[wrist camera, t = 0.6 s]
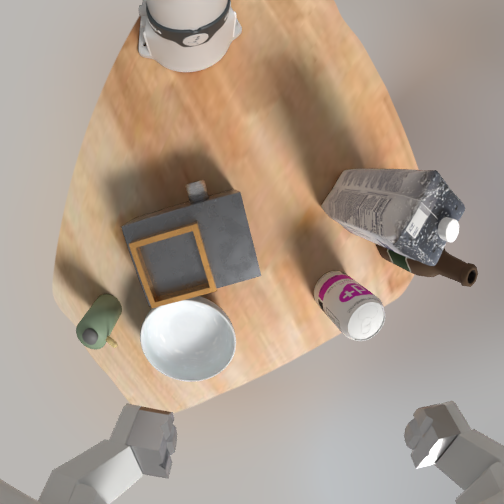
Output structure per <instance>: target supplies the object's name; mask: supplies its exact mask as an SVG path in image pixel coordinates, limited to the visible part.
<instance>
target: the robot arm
mask: <svg viewBox="0 0 504 504" xmlns="http://www.w3.org/2000/svg"><path fill="white" fill-rule="evenodd" d="M139 15H140V16H141V22H140V35H139V54H140V55H141V56H142V57H146V58H150V59H154V60H156V61H157V62H159V63H160V64H161V65H163V66H164V67H166V68H168V69H170V70H174V71H178V72H195V71H199V70H203V69H206V68H208V67H210V66H212V65H213V64H215V63H216V62H218V61H219V60H220V59H221V58H222V57H223V56H224V55H225V53H226V52H227V50H228V48H229V46H230V44H231V42H232V41H233V40H234V39H235V38H237V37H238V36H239V35H240V34H241V32H242V27H241V25H240V23H239V22H238V20H237V18H236V12H234V11H233V9H232V8H231V1H230V0H143V3H142V5H140V6H139ZM144 44H146V46H144ZM413 416H414V419H413V420H412V421H410V422H409V423H408V425H407V426H406V428H405V434H404V437H405V442H406V445H407V446H408V447H409V448H410V449H412V453H411V457H412V460H413V462H414V465H415V467H416V469H417V468H421V467H425V466H428V465H432V464H435V466H436V467H437V468H439V469H440V470H441V471H442V472H443V473H444V474H446V475H447V476H448V477H449V478H450V479H452V480H453V481H454V482H455V483H456V484H457V485H459V486H460V487H461V488H462V489H463V490H465V491H464V492H463V493H462V494H460V495H459V496H458V497H457V498H456V500H455V501H456V504H504V446H503V445H501V444H499V443H498V442H496V441H494V440H492V439H491V438H488V437H487V436H485V435H484V434H482V433H480V432H478V431H477V430H475V429H473V430H471V428H470V426H469V425H468V423H467V421H466V420H465V418H464V416H463V415H462V413H461V412H460V410H459V408H458V407H457V405H456V403H454V402H453V401H450V402H445V403H441V404H435V405H430V406H426V407H421V408H418V409H417V410H416V411H415V413H414V415H413ZM173 421H174V416H173V412H167V411H162V410H157V409H152V408H147V407H142V406H137V405H132V404H126V405H125V406H124V407H123V409H122V412H121V414H120V416H119V419H118V421H117V423H116V426H115V428H114V430H113V432H112V435H111V437H110V439H109V440H103V441H102V442H100V443H98V444H97V445H95V446H93V447H92V448H91V449H88V450H87V451H85V452H84V453H82V454H80V455H78V456H77V457H75V458H73V459H72V460H70V461H68V462H66V463H65V464H63V465H61V466H59V467H58V468H56V469H54V470H52V473H51V475H50V477H49V479H48V481H47V483H46V485H45V487H44V489H43V492H42V493H41V496H40V498H39V500H38V501H37V500H35V499H33V498H31V497H29V496H28V495H26V494H24V493H22V492H21V491H19V490H17V489H16V488H14V487H12V486H10V485H9V484H7V483H6V482H4V481H3V480H1V479H0V504H110V503H111V502H113V501H114V500H115V499H116V498H117V497H119V496H120V495H121V494H122V493H123V492H125V491H126V490H127V489H128V488H129V487H130V486H132V485H133V484H134V483H135V482H136V481H137V480H138V479H140V478H141V477H142V476H143V474H146V475H151V476H156V477H162V478H169V474H170V469H171V465H172V460H171V457H170V455H171V454H173V453H174V452H175V447H176V441H177V431H176V427H175V426H174V425H173Z"/></svg>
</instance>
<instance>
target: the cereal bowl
mask: <svg viewBox="0 0 504 504" xmlns="http://www.w3.org/2000/svg"><path fill="white" fill-rule="evenodd" d="M140 341H141V346H142V350H143V352H144V354H145V356H146V358H147V359H148V361H149V362H150V363H151V364H152V365H153V366H154V367H155V368H156V369H157V370H158V371H159V372H161V373H162V374H164V375H166V376H168V377H171V378H173V379H176V380H181V381H190V382H192V381H202V380H206V379H209V378H211V377H213V376H215V375H217V374H219V373H220V372H221V371H223V370H224V369H225V368H226V367H227V366H228V364H229V363H230V362H231V360H232V358H233V356H234V353H235V348H236V337H235V332H234V328H233V326H232V323H231V321H230V319H229V318H228V316H227V315H226V313H225V312H224V311H223V310H222V309H221V308H220V307H219V306H218V305H216V304H215V303H213V302H212V301H210V300H208V299H206V298H203V297H200V296H197V297H193V298H190V299H186V300H182V301H178V302H175V303H171V304H167V305H163V306H160V307H156V308H152V309H151V310H150V312H149V313H148V314H147V316H146V318H145V320H144V322H143V324H142V328H141V333H140Z"/></svg>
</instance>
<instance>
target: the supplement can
mask: <svg viewBox="0 0 504 504" xmlns="http://www.w3.org/2000/svg"><path fill="white" fill-rule="evenodd" d="M314 299H315V301H316V303H317V304H318V306H319V307H320V308H321V309H322V310H323V311H324V312H325V314H326V315H327V316H328V317H329V318H330V319H331V321H332V322H333V323H334V324H335V325H336V326H337V327H338V329H339V330H340V331H341V332H342V333H343V334H344V335H345V336H346V337H347V338H349V339H353V340H357V341H365V340H368V339H370V338H372V337H374V336H375V335H376V334H377V333H378V332H379V331H380V329H381V328H382V326H383V324H384V321H385V311H384V307H383V304H382V302H381V300H380V299H379V298H377V297H376V296H375V295H374V294H372V293H371V292H370V291H368V290H367V289H366V288H364V287H363V286H361V285H360V284H359V283H357V282H356V281H355V280H353V279H352V278H351V277H349V276H348V275H346V274H345V273H344V272H340V271H330V272H328V273H326V274H324V275H323V276H322V277H321V278H320V279H319V280H318V282H317V284H316V285H315V289H314Z"/></svg>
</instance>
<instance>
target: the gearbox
mask: <svg viewBox="0 0 504 504" xmlns="http://www.w3.org/2000/svg"><path fill="white" fill-rule="evenodd" d="M185 186H186V189H187V193H188V197H189V202H186V203H182V204H179V205H176V206H172V207H169V208H166V209H162V210H159V211H156V212H152V213H149V214H146V215H143V216H140V217H137V218H134V219H132V220H131V221H129V222H128V223H126V224H125V225H123V226H122V230H123V234H124V237H125V240H126V243H127V246H128V249H129V252H130V255H131V258H132V261H133V264H134V267H135V269H136V272H137V275H138V278H139V281H140V283H141V286H142V289H143V291H144V294H145V297H146V299H147V302H148V304H149V307H150V306H151V307H152V308H156V307H160V306H163V305H167V304H171V303H175V302H178V301H182V300H186V299H190V298H193V297H197V296H201V295H204V294H208V293H211V292H215V291H217V288H220V287H223V286H227V285H231V284H234V283H238V282H241V281H245V280H248V279H252V278H255V277H259V276H261V273H260V269H259V265H258V261H257V257H256V253H255V249H254V245H253V241H252V237H251V233H250V229H249V225H248V221H247V217H246V213H245V209H244V205H243V201H242V197H241V193H240V192H239V191H237V190H234V189H233V190H229V191H226V192H222V193H218V194H214V195H211V196H208V193H207V189H206V185H205V181H204V180H200V181H197V182H193V183H190V184H186V185H185Z"/></svg>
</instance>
